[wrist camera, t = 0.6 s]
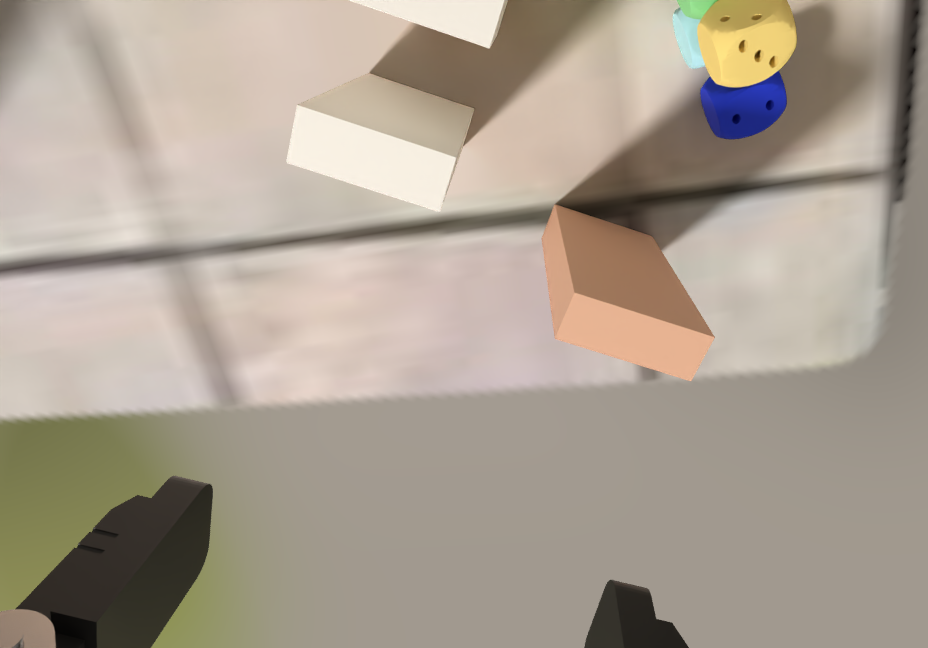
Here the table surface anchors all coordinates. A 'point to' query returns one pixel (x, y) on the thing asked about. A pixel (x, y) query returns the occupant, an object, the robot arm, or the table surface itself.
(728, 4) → the dice
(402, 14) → the domino
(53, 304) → the table surface
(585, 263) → the domino end
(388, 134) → the domino
